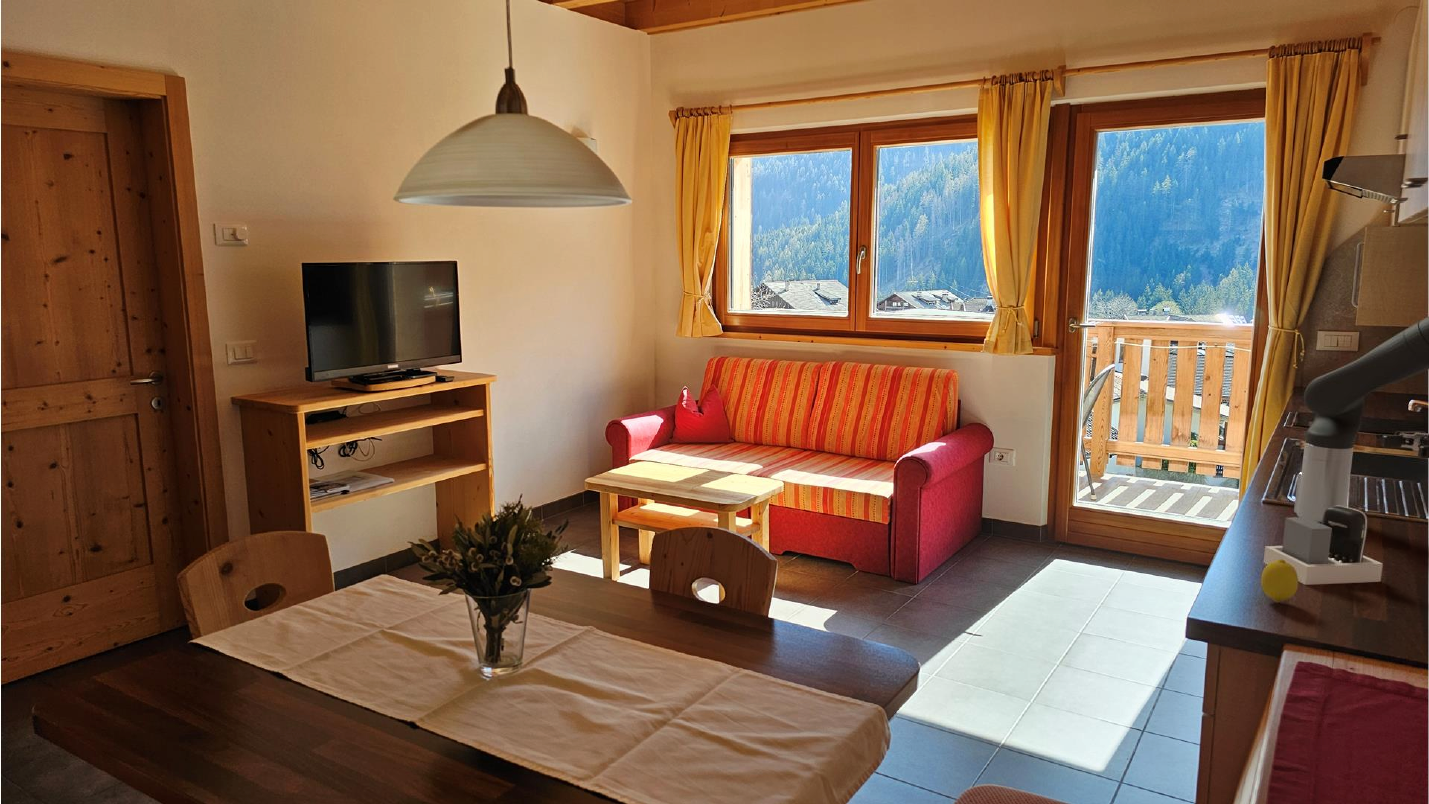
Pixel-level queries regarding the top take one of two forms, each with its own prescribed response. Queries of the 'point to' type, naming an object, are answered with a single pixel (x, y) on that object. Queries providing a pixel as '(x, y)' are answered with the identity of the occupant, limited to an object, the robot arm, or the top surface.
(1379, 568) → the dock
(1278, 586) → the lemon
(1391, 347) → the robot arm
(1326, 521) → the battery charger
